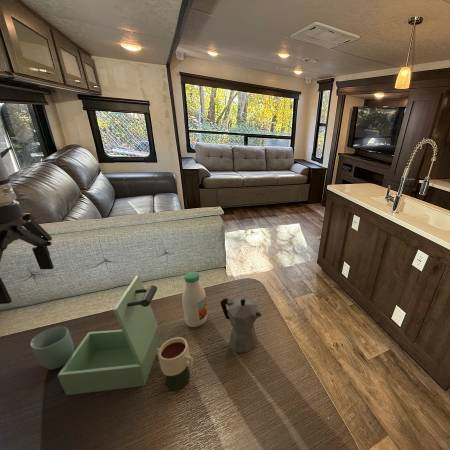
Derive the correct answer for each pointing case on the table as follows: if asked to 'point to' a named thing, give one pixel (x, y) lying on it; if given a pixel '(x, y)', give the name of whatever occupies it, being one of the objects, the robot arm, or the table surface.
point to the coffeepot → (241, 322)
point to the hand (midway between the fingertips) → (27, 284)
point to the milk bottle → (194, 301)
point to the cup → (53, 347)
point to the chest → (106, 364)
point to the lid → (137, 317)
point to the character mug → (175, 362)
